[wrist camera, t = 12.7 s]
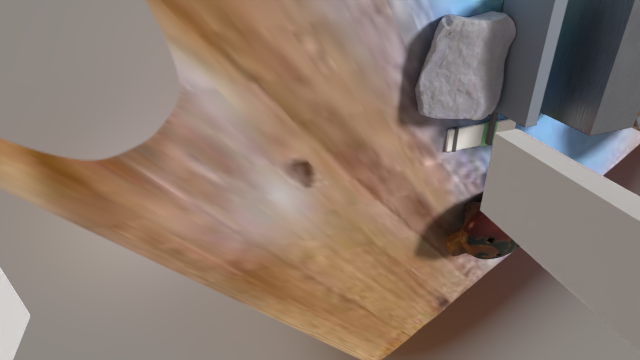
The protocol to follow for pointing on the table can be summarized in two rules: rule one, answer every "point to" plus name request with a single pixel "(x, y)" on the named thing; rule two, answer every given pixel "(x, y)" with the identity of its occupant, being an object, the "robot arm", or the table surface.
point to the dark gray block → (596, 67)
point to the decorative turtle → (479, 236)
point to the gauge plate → (528, 60)
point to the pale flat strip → (474, 134)
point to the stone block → (465, 66)
